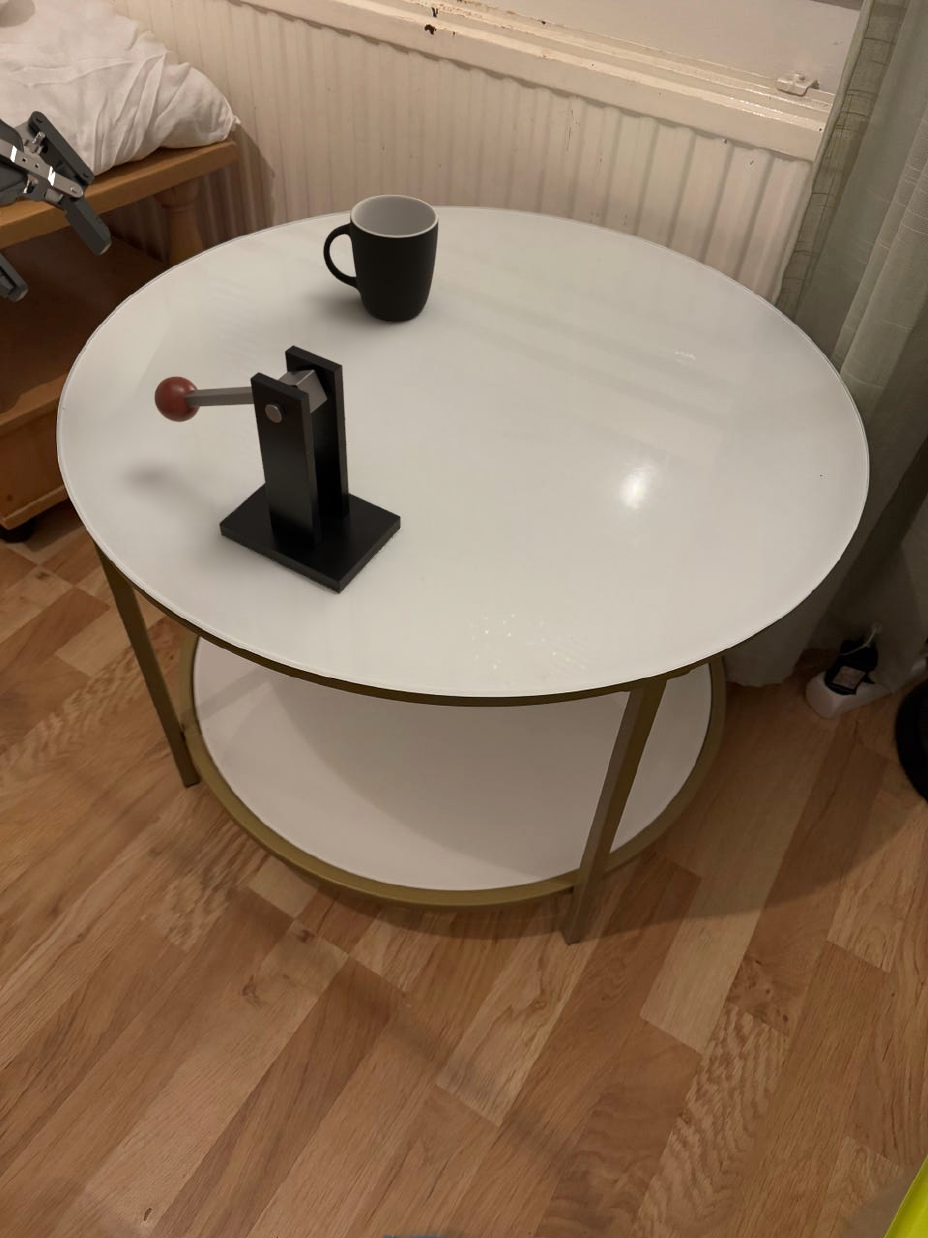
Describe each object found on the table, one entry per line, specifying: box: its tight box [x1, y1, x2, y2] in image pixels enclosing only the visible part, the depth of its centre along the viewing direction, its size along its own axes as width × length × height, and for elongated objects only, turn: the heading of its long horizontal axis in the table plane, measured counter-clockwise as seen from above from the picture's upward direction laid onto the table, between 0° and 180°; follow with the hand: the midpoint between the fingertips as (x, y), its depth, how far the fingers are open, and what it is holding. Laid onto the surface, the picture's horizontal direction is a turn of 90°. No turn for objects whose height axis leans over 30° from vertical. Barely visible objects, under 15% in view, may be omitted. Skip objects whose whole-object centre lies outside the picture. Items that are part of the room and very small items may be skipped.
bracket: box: [218, 345, 402, 594], centre depth 70 cm, size 12×9×16 cm
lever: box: [153, 370, 327, 423], centre depth 70 cm, size 17×4×4 cm, turn 60°
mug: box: [322, 194, 439, 322], centre depth 95 cm, size 12×9×10 cm
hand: (65, 271), depth 70 cm, fingers open, 8 cm apart
